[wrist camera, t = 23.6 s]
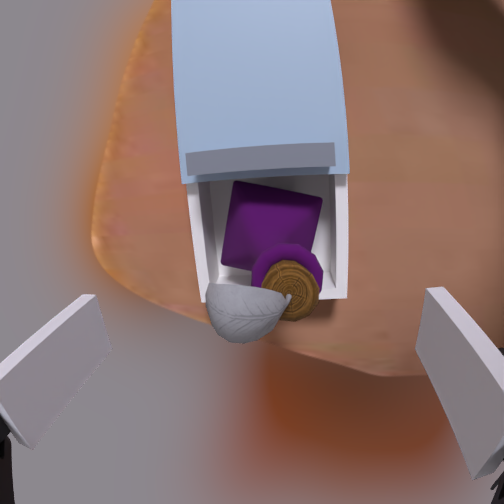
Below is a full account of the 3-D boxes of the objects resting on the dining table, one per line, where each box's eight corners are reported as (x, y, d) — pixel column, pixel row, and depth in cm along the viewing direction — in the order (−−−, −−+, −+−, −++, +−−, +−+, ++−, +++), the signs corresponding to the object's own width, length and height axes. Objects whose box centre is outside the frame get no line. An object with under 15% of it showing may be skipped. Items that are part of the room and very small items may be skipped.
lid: (174, -8, 20) (159, -26, 16) (323, -24, 18) (327, -46, 15) (185, 183, 25) (168, 188, 21) (347, 173, 23) (358, 176, 20)
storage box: (194, 105, 28) (179, 97, 23) (332, 94, 26) (340, 84, 22) (212, 283, 33) (201, 302, 28) (339, 278, 31) (346, 298, 27)
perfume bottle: (319, 193, 28) (366, 251, 11) (302, 268, 31) (313, 400, 14) (239, 177, 29) (168, 211, 12) (226, 253, 31) (158, 367, 14)
